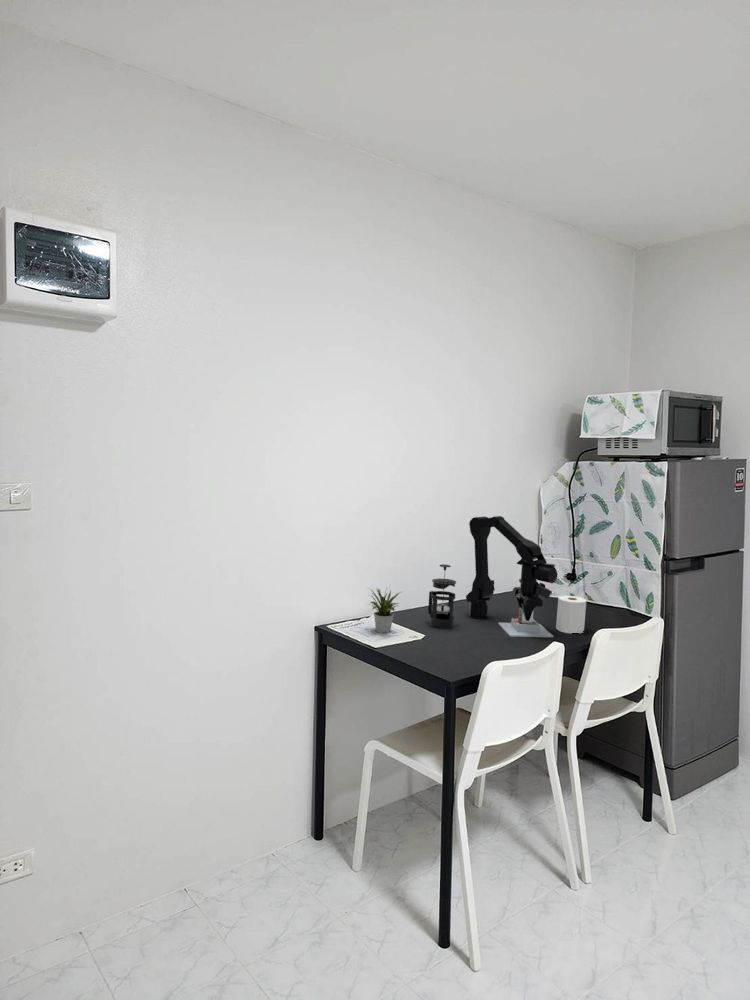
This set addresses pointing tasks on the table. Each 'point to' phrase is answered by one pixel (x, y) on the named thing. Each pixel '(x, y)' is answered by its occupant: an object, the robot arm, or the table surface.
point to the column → (522, 617)
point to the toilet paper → (571, 614)
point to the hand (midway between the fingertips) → (525, 619)
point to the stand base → (524, 629)
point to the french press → (439, 618)
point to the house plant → (383, 611)
